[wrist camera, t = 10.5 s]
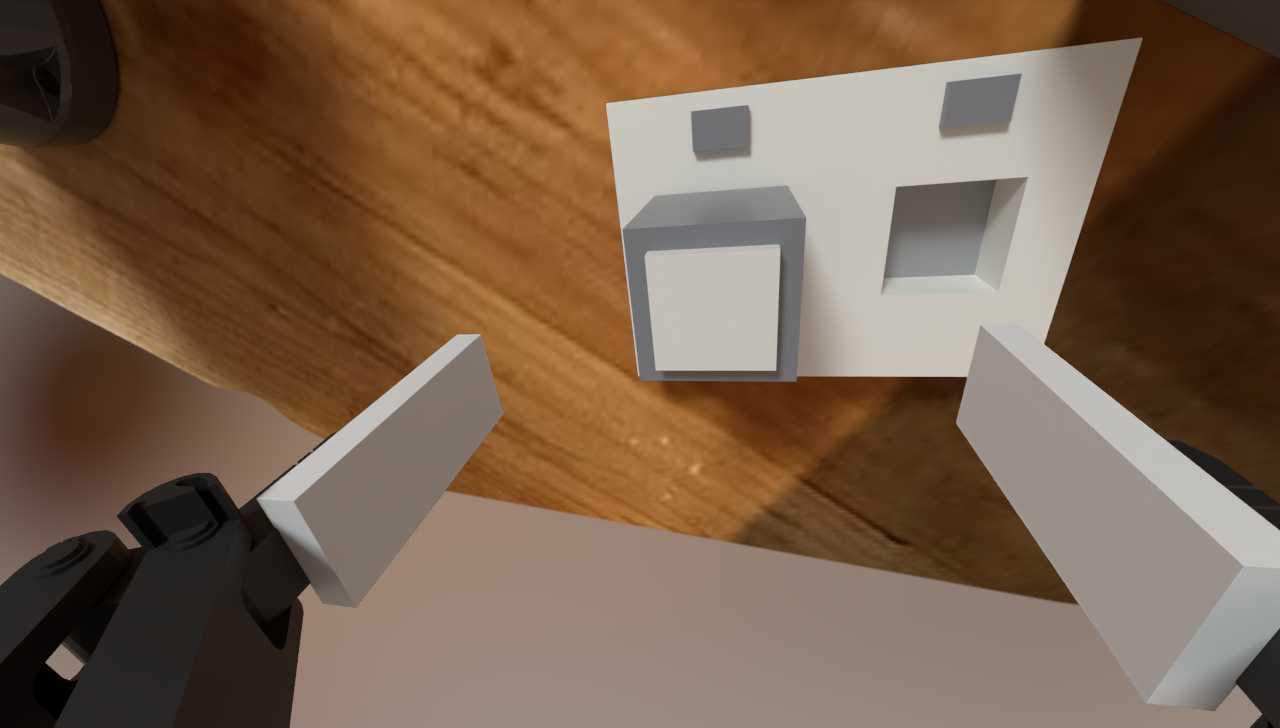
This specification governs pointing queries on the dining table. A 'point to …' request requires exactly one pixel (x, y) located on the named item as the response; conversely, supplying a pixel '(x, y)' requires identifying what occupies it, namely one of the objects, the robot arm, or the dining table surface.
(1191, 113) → the dining table surface
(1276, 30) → the grey hexagonal prism
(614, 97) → the dining table surface
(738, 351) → the plug
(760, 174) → the socket plate
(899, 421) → the dining table surface
